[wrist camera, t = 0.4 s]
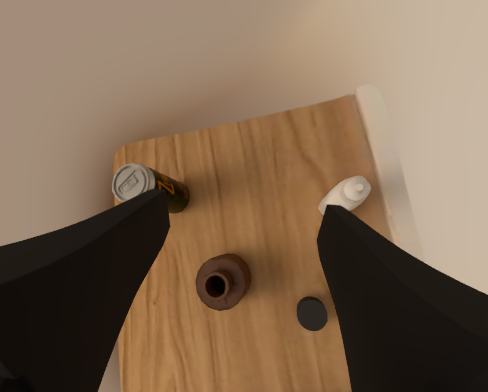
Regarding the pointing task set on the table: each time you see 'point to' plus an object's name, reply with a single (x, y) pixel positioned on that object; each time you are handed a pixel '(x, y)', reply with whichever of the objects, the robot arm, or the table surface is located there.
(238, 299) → the amber bottle
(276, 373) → the table surface
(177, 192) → the beer can
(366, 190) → the eye dropper bottle
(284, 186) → the table surface
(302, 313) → the cylinder
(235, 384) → the table surface
